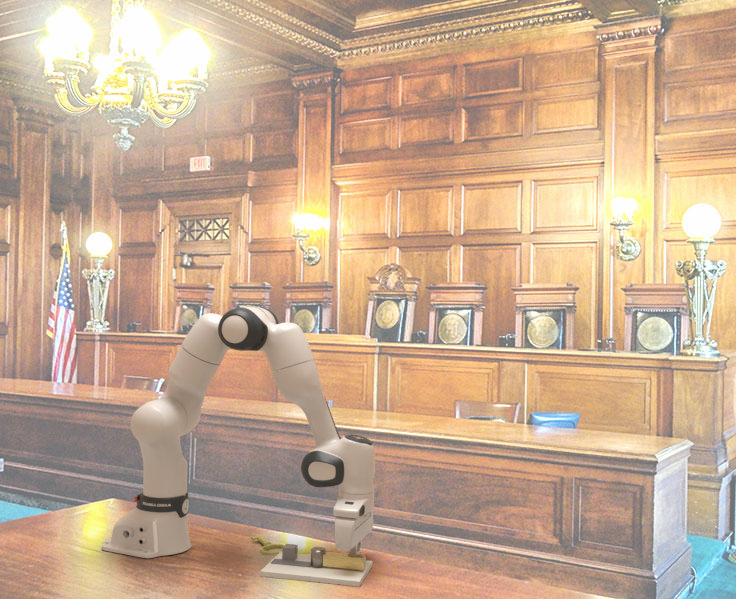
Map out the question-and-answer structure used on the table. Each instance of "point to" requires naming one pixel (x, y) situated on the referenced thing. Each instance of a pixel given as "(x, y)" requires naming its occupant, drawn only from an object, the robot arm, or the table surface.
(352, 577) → the lock plate
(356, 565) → the swing arm
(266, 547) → the key
